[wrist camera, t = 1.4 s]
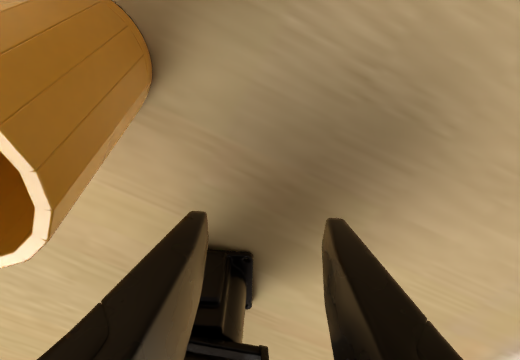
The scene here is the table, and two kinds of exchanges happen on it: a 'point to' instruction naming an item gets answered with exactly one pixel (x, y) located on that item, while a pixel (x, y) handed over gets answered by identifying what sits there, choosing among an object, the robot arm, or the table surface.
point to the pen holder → (60, 108)
